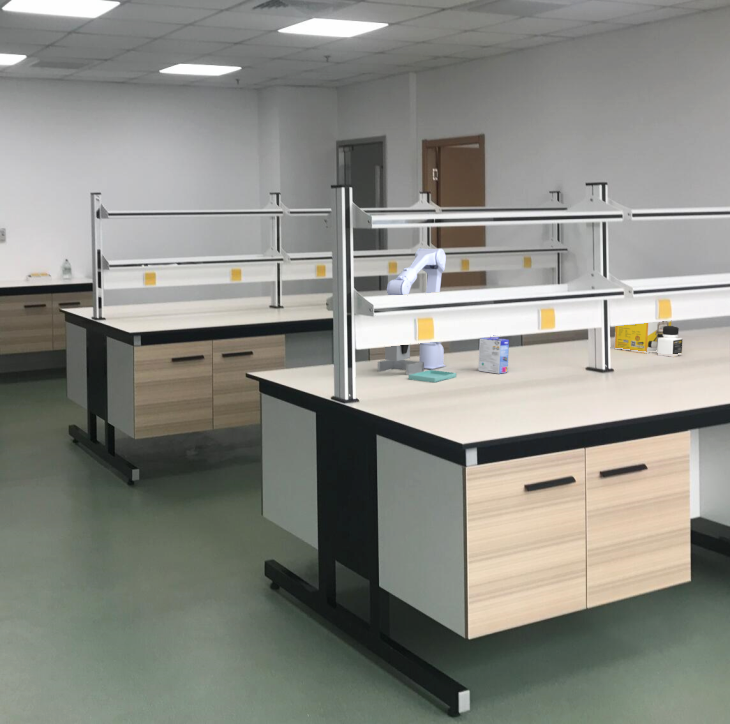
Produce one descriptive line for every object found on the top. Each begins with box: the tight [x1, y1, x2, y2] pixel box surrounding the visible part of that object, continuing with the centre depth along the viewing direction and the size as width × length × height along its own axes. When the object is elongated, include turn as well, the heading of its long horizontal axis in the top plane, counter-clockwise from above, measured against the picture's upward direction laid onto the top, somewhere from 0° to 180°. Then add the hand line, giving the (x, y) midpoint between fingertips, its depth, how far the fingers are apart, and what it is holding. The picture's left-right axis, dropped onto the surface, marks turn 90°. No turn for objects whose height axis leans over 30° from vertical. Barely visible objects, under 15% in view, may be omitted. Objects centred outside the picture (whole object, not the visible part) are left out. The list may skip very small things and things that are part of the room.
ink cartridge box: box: [477, 336, 510, 375], centre depth 351 cm, size 10×6×14 cm, turn 46°
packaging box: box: [613, 320, 672, 352], centre depth 408 cm, size 16×16×25 cm
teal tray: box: [408, 369, 457, 383], centre depth 338 cm, size 14×11×2 cm
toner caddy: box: [384, 344, 411, 361], centre depth 341 cm, size 8×5×7 cm, turn 142°
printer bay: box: [377, 359, 425, 376], centre depth 352 cm, size 10×14×4 cm
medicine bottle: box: [656, 325, 683, 354], centre depth 393 cm, size 7×7×12 cm
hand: (397, 352), depth 341 cm, fingers closed on toner caddy, 5 cm apart
